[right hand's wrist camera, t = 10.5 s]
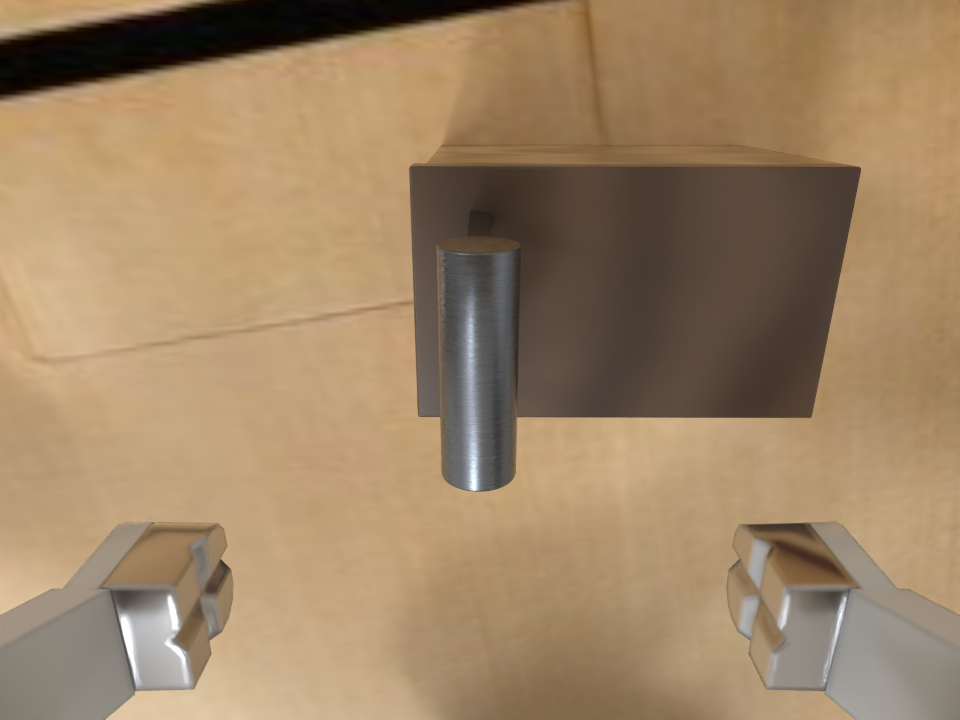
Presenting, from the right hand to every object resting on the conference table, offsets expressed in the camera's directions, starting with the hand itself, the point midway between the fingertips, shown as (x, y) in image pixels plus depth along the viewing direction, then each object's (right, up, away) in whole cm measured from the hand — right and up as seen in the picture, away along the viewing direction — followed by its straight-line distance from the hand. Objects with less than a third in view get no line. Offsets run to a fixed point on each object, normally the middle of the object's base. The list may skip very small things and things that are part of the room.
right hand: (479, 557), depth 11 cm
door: (+5, +6, +15) cm, 16 cm away
